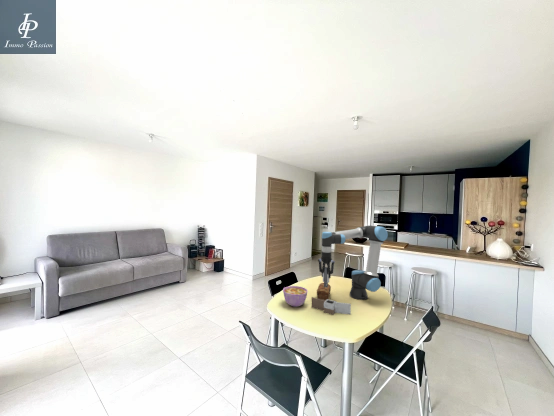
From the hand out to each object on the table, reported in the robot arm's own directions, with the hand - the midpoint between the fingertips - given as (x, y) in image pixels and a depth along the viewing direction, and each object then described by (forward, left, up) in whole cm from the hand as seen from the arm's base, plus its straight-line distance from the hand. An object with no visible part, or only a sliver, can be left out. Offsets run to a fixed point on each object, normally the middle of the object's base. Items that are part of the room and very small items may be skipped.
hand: (326, 281), depth 167 cm
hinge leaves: (+3, +4, -21) cm, 21 cm away
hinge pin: (0, 0, -4) cm, 4 cm away
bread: (-23, -9, -21) cm, 33 cm away
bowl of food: (+6, -23, -21) cm, 32 cm away
